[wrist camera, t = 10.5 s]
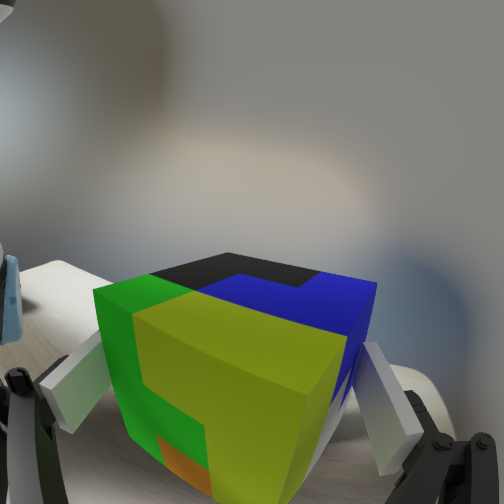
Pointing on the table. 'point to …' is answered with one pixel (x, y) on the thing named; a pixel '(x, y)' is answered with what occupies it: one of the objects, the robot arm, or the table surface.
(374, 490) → the table surface
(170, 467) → the puzzle toy
